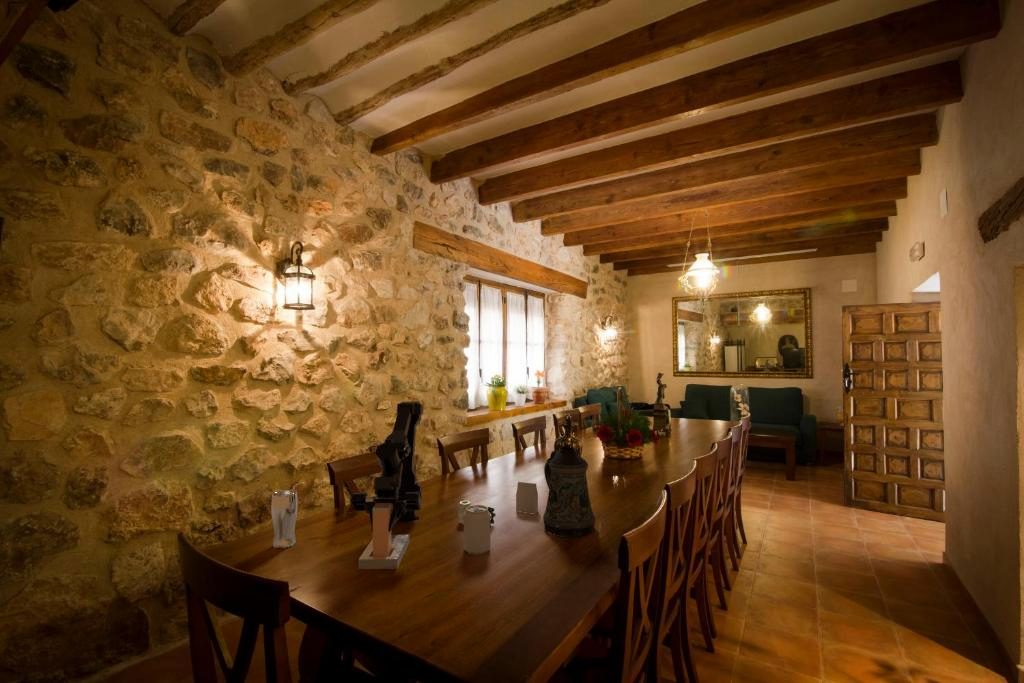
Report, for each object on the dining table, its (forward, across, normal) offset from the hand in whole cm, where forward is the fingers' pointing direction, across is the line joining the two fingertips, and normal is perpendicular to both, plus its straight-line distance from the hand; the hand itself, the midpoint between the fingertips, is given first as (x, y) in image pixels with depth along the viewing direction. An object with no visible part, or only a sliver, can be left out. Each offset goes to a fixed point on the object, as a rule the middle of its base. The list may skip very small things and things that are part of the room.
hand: (380, 531), depth 128 cm
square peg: (+4, 0, +6) cm, 8 cm away
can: (+1, +25, +12) cm, 28 cm away
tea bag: (-22, +41, +35) cm, 58 cm away
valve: (-14, +23, +26) cm, 38 cm away
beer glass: (-3, -31, +16) cm, 35 cm away
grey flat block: (+2, 0, +10) cm, 10 cm away
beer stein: (-11, +52, +24) cm, 59 cm away
